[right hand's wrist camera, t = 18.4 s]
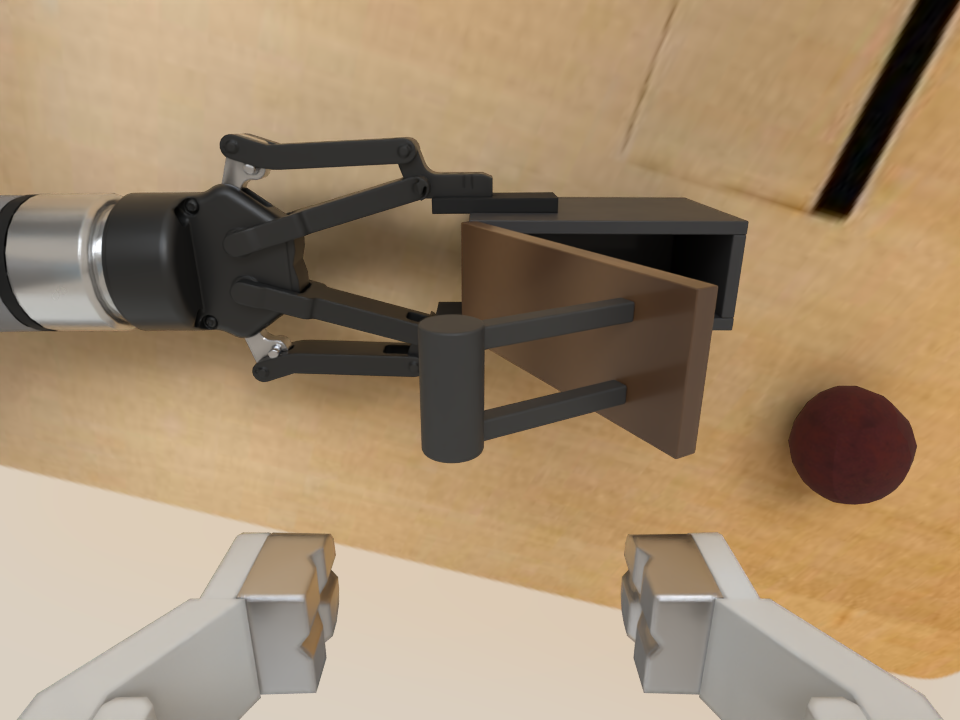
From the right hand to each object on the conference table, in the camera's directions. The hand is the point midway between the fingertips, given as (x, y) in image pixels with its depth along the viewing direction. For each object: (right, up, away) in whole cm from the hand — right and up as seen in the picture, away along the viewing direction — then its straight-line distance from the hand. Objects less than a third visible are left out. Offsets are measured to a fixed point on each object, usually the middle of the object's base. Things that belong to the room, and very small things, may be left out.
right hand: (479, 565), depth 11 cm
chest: (+6, +11, +30) cm, 32 cm away
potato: (+24, -1, +34) cm, 42 cm away
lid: (+3, +5, +14) cm, 16 cm away
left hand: (+4, +9, +24) cm, 26 cm away
